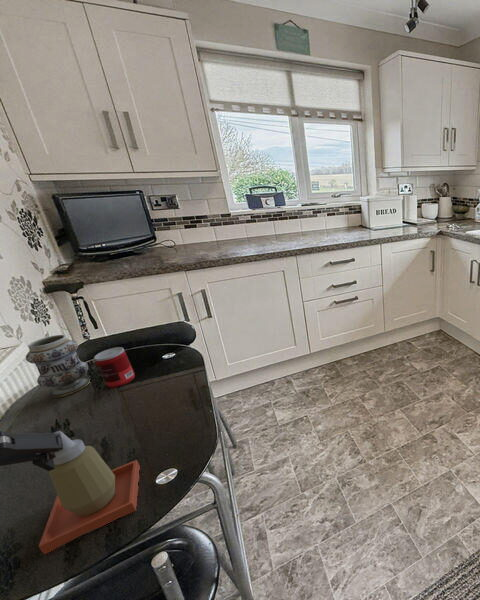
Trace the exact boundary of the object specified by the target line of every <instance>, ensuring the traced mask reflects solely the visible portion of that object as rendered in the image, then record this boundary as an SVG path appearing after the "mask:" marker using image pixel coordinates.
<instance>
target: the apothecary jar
mask: <svg viewBox="0 0 480 600" xmlns="http://www.w3.org/2000/svg"><path fill="white" fill-rule="evenodd" d="M27 346H28V349H29V351H28V352H27V353H26V354H25V360H26V361H27V362H28V363H29V364H34V365H35V368H36V369H37V371H38V373H39V375H38V377H37V379H36V382H37V385H38V386H40V387H43V388H55V389H53V391H51V393H50V397H52V398H62V397H66V396H69V395H72V394H75V393H77V392H79V391H81V390H83V389H85V388H86V387H87V386H89V385H90V384H91V382H90V380H91V379H90V378H87V377H86V378H82V377H84V376H85V375H86V374H87V372H88V371H89V365H88V363H87V362H86V361H85V362H84V361H81V359H80V357H79V356H78V353H77V349H78V347H79V345H78V342H76V340H73V339H70V338H68V337H67V336H66V334H56V335H50V336H46V337H43V338H40V339H37V340H35V341H32V342H31V343H29V344H28V345H27ZM89 383H90V384H89ZM88 384H89V385H88ZM84 387H85V388H84ZM74 392H75V393H74Z"/></svg>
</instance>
